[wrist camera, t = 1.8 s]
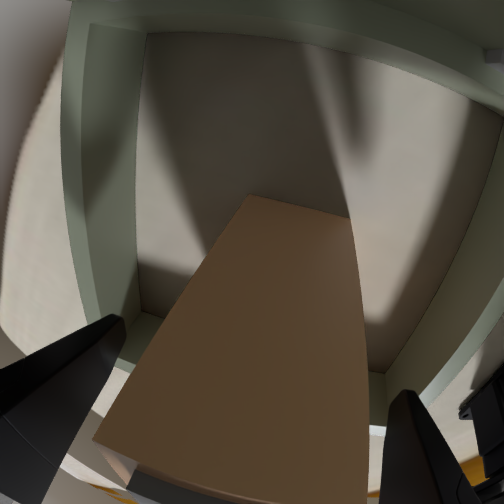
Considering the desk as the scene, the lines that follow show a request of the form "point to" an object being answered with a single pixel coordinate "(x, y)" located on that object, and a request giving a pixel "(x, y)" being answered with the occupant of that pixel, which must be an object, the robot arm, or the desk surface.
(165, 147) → the desk surface
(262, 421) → the box
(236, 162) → the desk surface
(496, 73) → the case
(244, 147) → the desk surface
